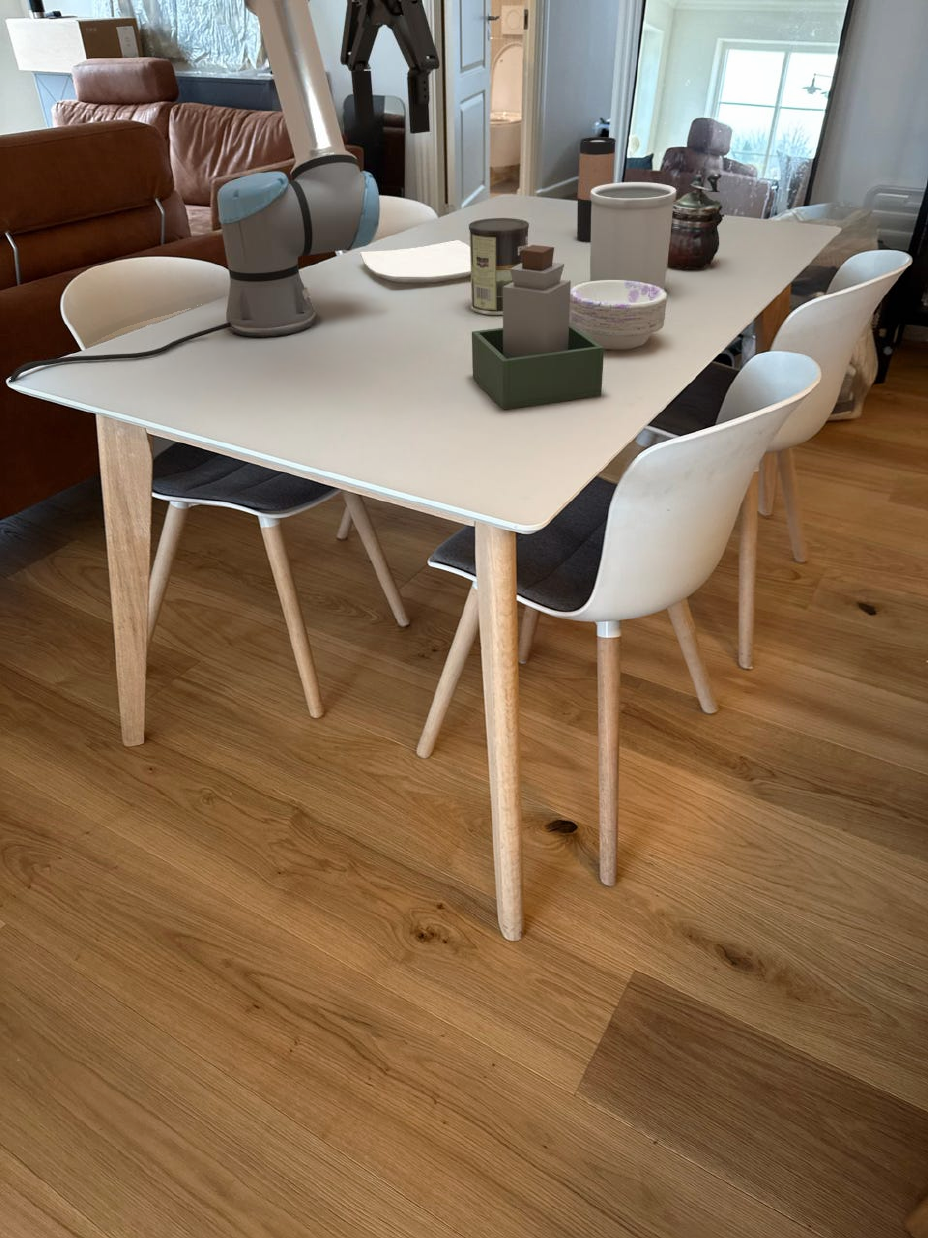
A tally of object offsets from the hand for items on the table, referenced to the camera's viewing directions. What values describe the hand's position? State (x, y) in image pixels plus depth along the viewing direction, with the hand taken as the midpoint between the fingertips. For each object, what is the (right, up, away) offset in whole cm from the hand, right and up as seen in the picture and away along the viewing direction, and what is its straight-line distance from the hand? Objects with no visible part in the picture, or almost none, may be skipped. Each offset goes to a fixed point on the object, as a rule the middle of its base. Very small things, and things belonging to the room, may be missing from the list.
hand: (391, 128), depth 124 cm
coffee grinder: (+56, +3, +57) cm, 80 cm away
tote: (+20, -34, +6) cm, 40 cm away
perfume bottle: (+20, -34, +5) cm, 40 cm away
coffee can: (+16, -12, +38) cm, 43 cm away
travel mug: (+39, +18, +80) cm, 91 cm away
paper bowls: (+34, -23, +21) cm, 46 cm away
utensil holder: (+40, -7, +44) cm, 60 cm away
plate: (+3, +4, +61) cm, 61 cm away
